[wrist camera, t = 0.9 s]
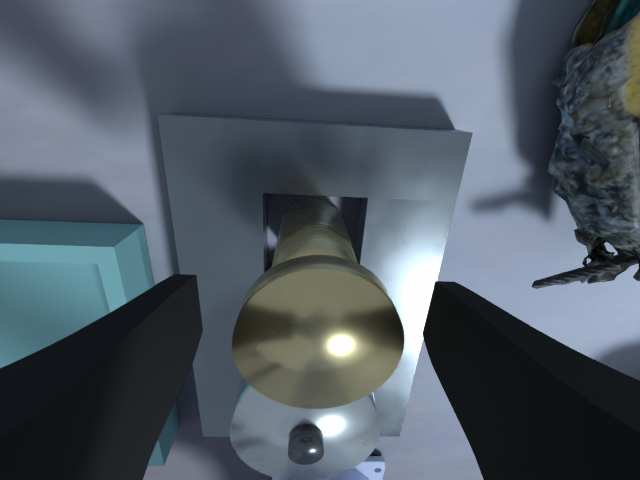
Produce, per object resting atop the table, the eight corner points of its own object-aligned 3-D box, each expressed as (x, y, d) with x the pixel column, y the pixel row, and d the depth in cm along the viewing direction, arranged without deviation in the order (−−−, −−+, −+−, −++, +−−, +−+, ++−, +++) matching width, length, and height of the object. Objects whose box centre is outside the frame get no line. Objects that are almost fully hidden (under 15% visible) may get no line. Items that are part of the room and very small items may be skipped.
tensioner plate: (393, 414, 21) (419, 508, 16) (209, 414, 20) (179, 513, 15) (455, 129, 14) (538, 145, 9) (172, 113, 13) (93, 120, 8)
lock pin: (352, 271, 16) (391, 409, 9) (267, 268, 16) (236, 408, 9) (362, 188, 15) (419, 277, 7) (266, 184, 14) (226, 271, 7)
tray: (179, 424, 20) (164, 465, 18) (-50, 424, 20) (-97, 467, 17) (143, 224, 15) (113, 247, 13) (-182, 212, 14) (-277, 234, 12)
